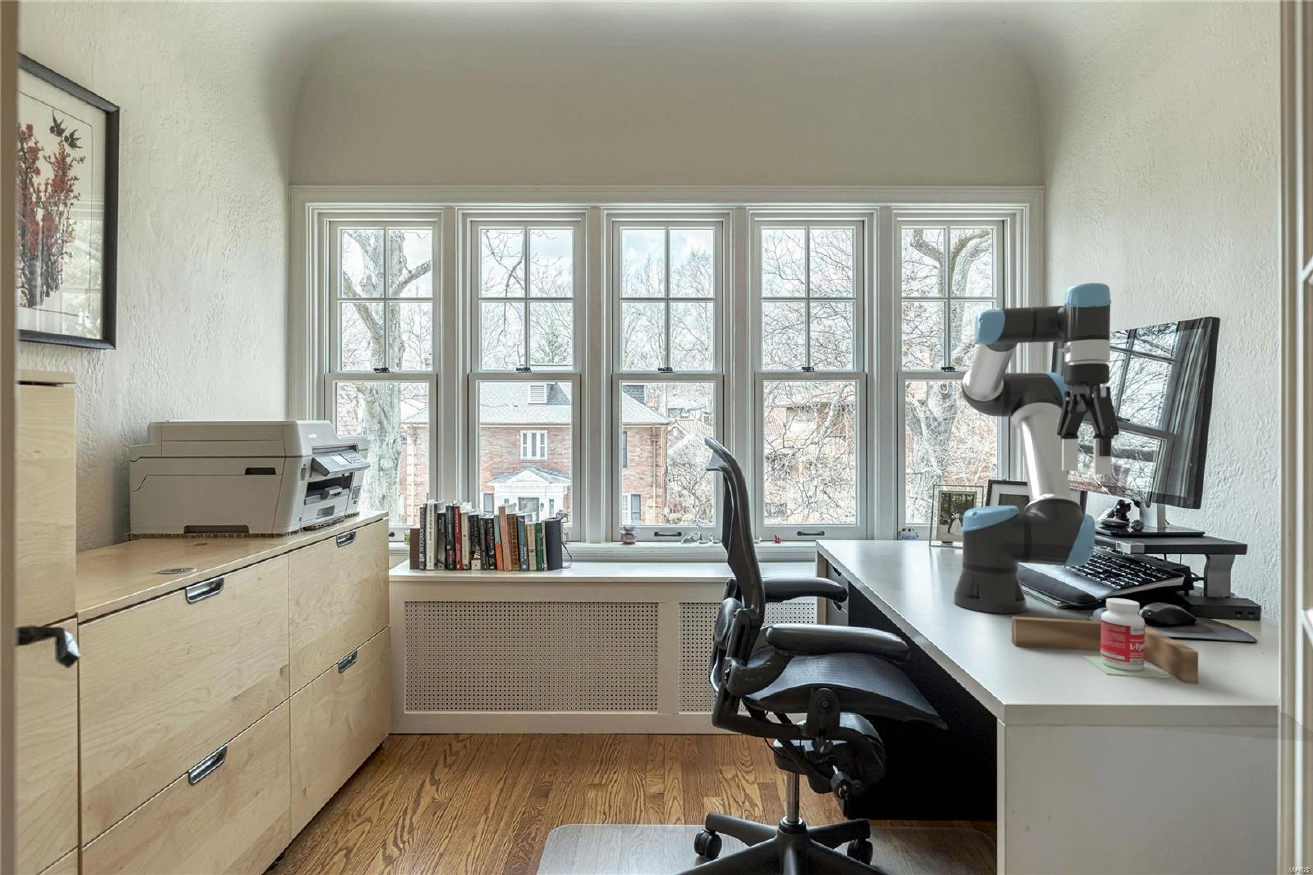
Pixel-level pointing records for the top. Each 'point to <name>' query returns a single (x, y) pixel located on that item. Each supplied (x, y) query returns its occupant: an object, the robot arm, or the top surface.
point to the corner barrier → (1088, 637)
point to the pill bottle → (1122, 635)
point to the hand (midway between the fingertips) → (1085, 472)
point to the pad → (1145, 672)
